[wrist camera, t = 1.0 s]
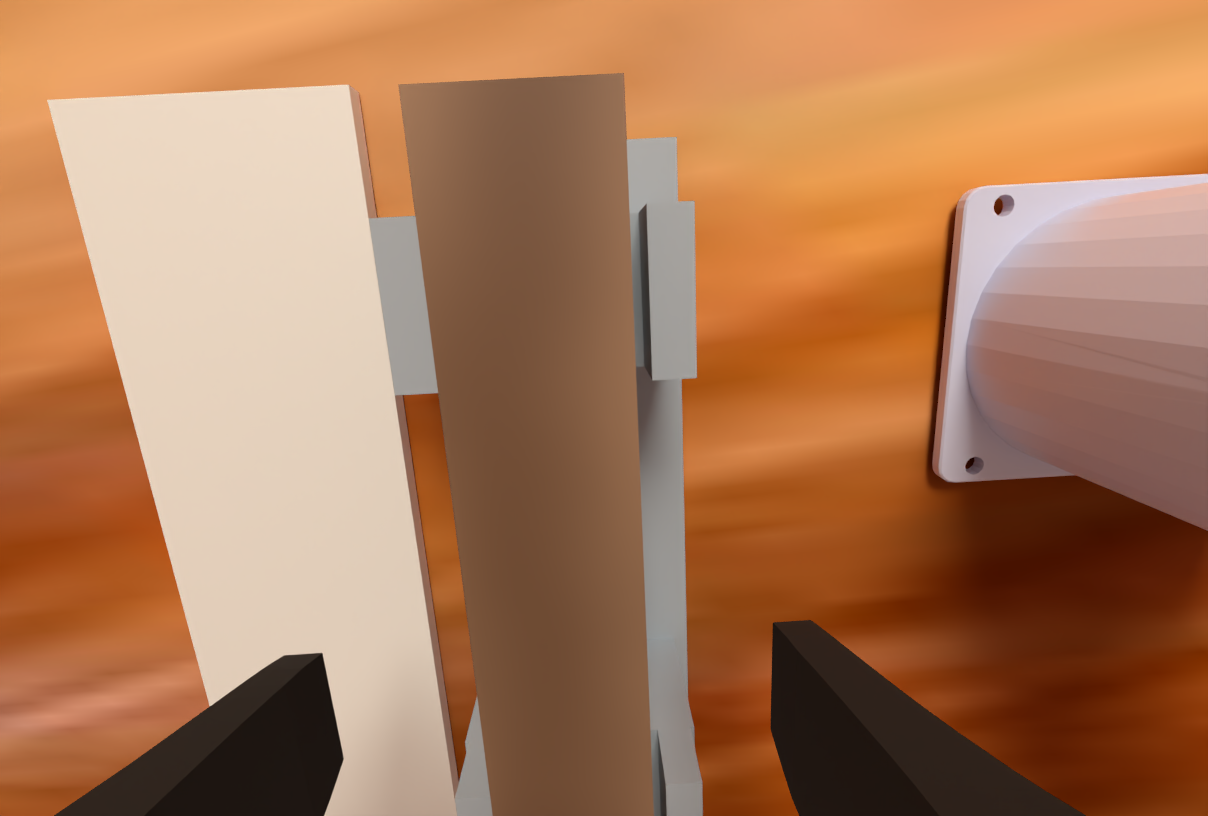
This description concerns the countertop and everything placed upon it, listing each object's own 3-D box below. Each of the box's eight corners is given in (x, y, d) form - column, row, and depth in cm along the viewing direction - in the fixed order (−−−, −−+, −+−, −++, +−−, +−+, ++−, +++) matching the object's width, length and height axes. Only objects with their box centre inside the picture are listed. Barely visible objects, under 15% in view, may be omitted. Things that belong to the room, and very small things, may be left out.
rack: (672, 142, 14) (724, 65, 9) (686, 754, 19) (725, 948, 13) (419, 155, 14) (316, 85, 9) (495, 768, 19) (458, 967, 13)
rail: (614, 128, 10) (624, 72, 7) (647, 871, 15) (662, 1021, 12) (452, 136, 10) (399, 85, 7) (534, 880, 15) (520, 1031, 12)
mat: (358, 92, 14) (348, 84, 13) (462, 806, 19) (458, 823, 18) (70, 107, 14) (47, 100, 13) (255, 819, 19) (244, 837, 18)
